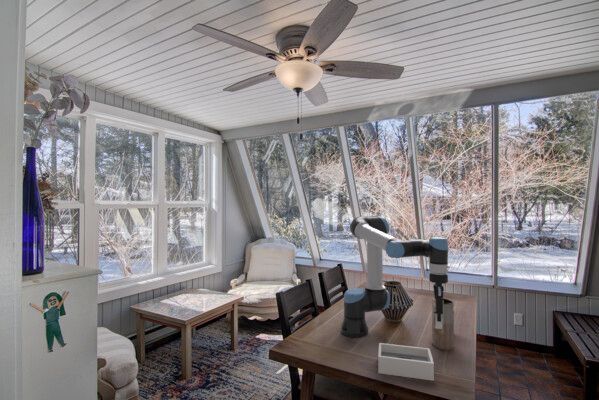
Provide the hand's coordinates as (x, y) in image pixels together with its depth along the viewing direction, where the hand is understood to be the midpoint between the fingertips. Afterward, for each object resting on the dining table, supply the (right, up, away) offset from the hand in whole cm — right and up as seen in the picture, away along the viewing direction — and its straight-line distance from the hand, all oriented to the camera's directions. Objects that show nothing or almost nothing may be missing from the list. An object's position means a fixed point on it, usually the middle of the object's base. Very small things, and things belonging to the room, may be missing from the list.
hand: (438, 326), depth 141 cm
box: (-15, -18, 0) cm, 24 cm away
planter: (+12, -19, +23) cm, 32 cm away
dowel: (0, -3, 0) cm, 3 cm away
